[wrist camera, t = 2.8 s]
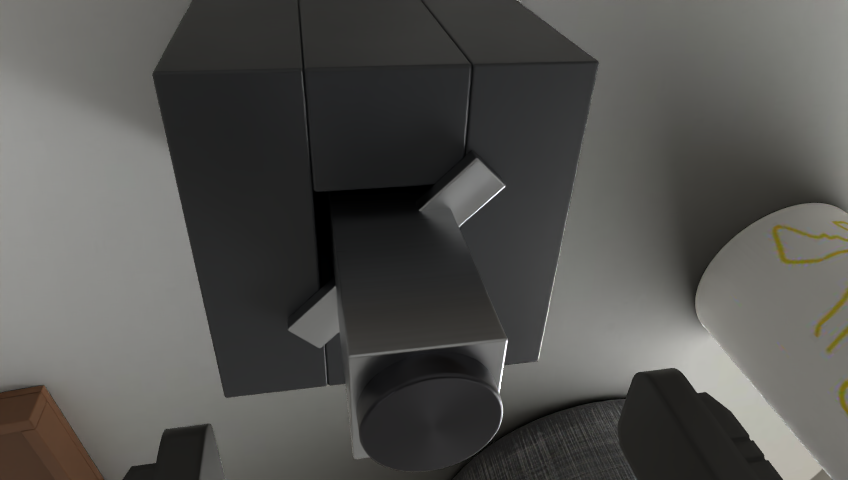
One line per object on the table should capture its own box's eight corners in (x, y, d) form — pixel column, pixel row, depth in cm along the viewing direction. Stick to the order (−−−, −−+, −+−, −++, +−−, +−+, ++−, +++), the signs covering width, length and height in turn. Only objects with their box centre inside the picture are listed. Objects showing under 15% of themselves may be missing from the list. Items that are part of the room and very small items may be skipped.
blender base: (248, 178, 29) (224, 398, 18) (215, -44, 24) (150, 72, 12) (446, 167, 31) (538, 361, 20) (459, -43, 25) (600, 61, 14)
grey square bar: (288, 190, 24) (291, 535, 12) (273, 48, 21) (258, 331, 9) (427, 182, 25) (552, 494, 13) (433, 45, 22) (605, 296, 10)
